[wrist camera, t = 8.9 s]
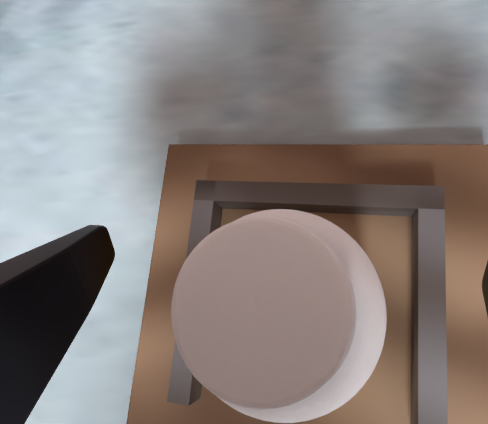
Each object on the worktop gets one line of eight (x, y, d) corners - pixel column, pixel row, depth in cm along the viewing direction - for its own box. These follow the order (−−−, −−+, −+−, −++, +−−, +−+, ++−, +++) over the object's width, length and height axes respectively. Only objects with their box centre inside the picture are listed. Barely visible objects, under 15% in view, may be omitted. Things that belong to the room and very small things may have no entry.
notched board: (501, 539, 15) (534, 586, 13) (132, 458, 19) (101, 480, 17) (486, 154, 19) (509, 130, 16) (177, 152, 23) (156, 132, 20)
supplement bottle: (223, 307, 19) (91, 295, 9) (308, 227, 19) (264, 131, 9) (305, 407, 17) (244, 526, 7) (399, 318, 17) (467, 318, 7)
